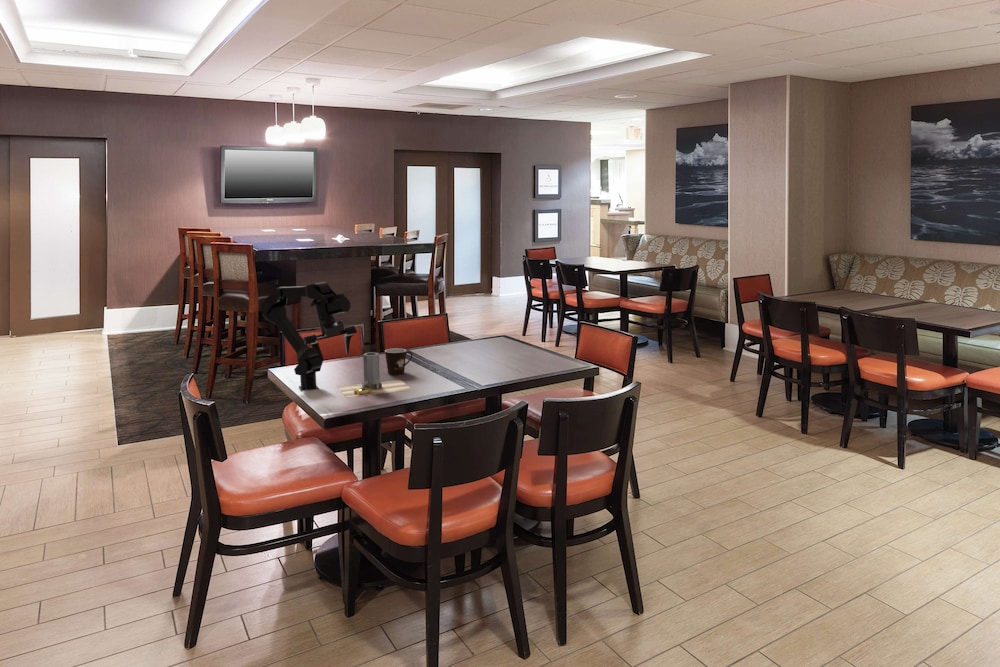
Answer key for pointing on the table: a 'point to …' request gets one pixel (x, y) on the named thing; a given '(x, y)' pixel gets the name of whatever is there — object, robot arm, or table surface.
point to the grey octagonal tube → (371, 371)
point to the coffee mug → (396, 360)
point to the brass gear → (363, 391)
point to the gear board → (386, 388)
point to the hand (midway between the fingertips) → (335, 358)
